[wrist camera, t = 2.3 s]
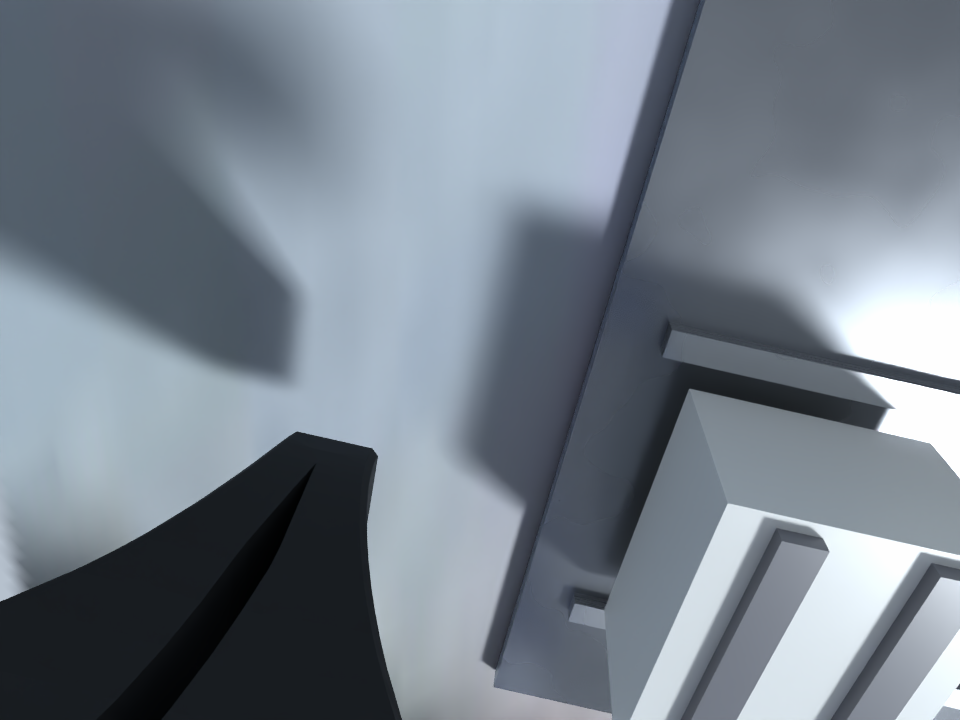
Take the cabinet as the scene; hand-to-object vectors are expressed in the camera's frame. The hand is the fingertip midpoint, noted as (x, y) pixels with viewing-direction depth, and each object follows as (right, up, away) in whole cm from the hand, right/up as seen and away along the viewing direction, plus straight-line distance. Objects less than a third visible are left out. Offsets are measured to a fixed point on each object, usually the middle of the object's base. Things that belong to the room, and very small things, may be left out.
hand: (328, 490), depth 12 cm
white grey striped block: (+7, -1, +2) cm, 8 cm away
